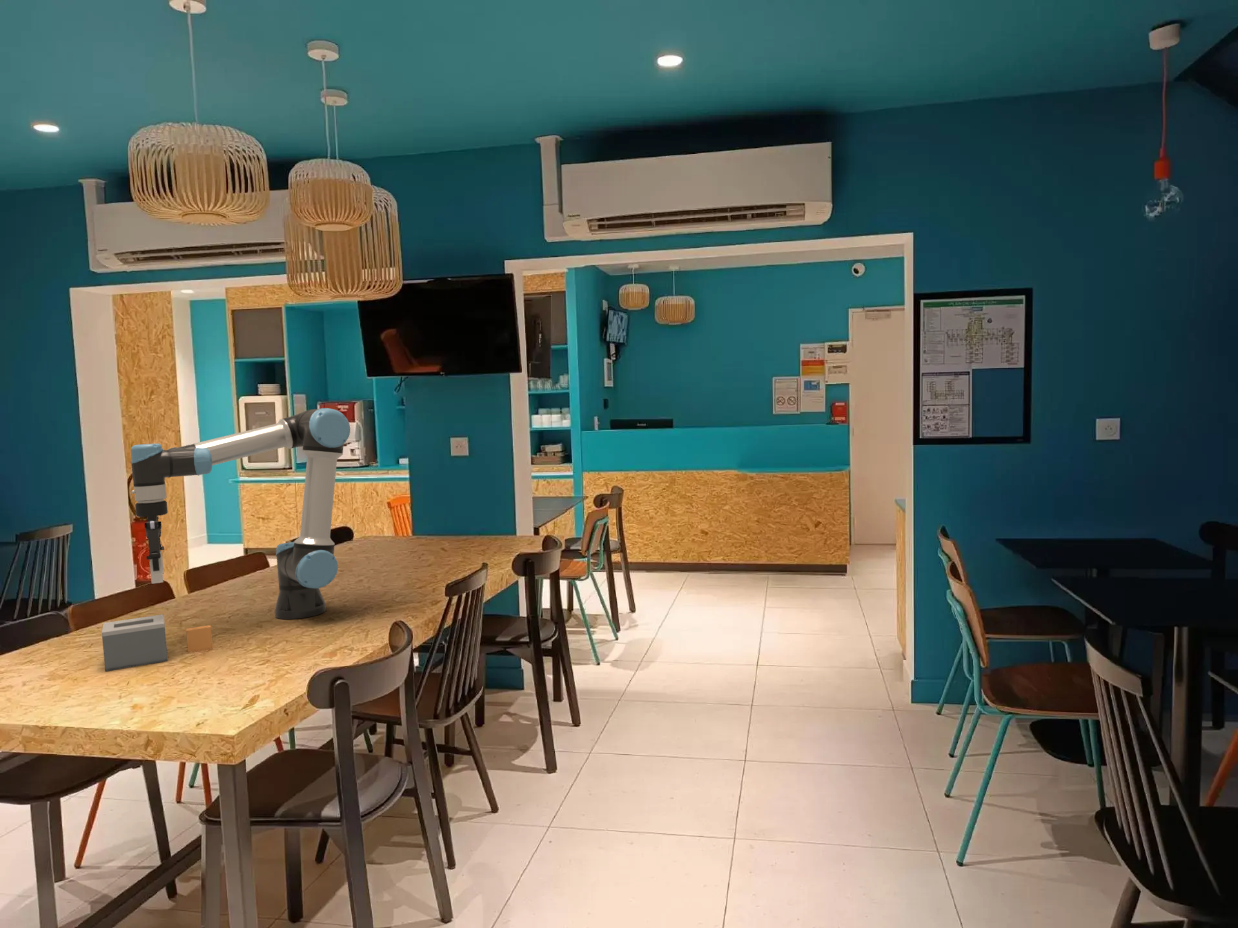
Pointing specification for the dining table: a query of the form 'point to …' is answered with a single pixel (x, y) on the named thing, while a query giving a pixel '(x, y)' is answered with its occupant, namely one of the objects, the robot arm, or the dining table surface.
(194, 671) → the dining table surface
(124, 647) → the box with rectangular hole
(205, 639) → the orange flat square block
